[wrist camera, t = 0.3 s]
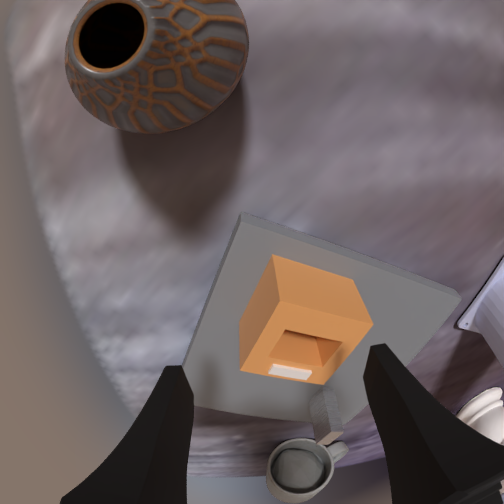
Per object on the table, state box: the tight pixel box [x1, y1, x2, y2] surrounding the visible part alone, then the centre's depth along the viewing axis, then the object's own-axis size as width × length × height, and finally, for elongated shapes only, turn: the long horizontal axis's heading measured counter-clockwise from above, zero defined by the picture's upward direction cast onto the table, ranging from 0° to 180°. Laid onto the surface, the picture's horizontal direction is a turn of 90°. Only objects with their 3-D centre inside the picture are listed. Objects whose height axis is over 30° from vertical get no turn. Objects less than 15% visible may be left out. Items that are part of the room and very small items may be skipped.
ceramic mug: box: [266, 438, 349, 503], centre depth 31 cm, size 11×8×8 cm
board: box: [182, 212, 462, 425], centre depth 23 cm, size 18×18×1 cm
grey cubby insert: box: [308, 386, 344, 445], centre depth 23 cm, size 1×2×4 cm, turn 159°
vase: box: [65, 0, 249, 134], centre depth 9 cm, size 7×7×9 cm
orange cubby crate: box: [239, 254, 374, 385], centre depth 18 cm, size 5×5×4 cm
